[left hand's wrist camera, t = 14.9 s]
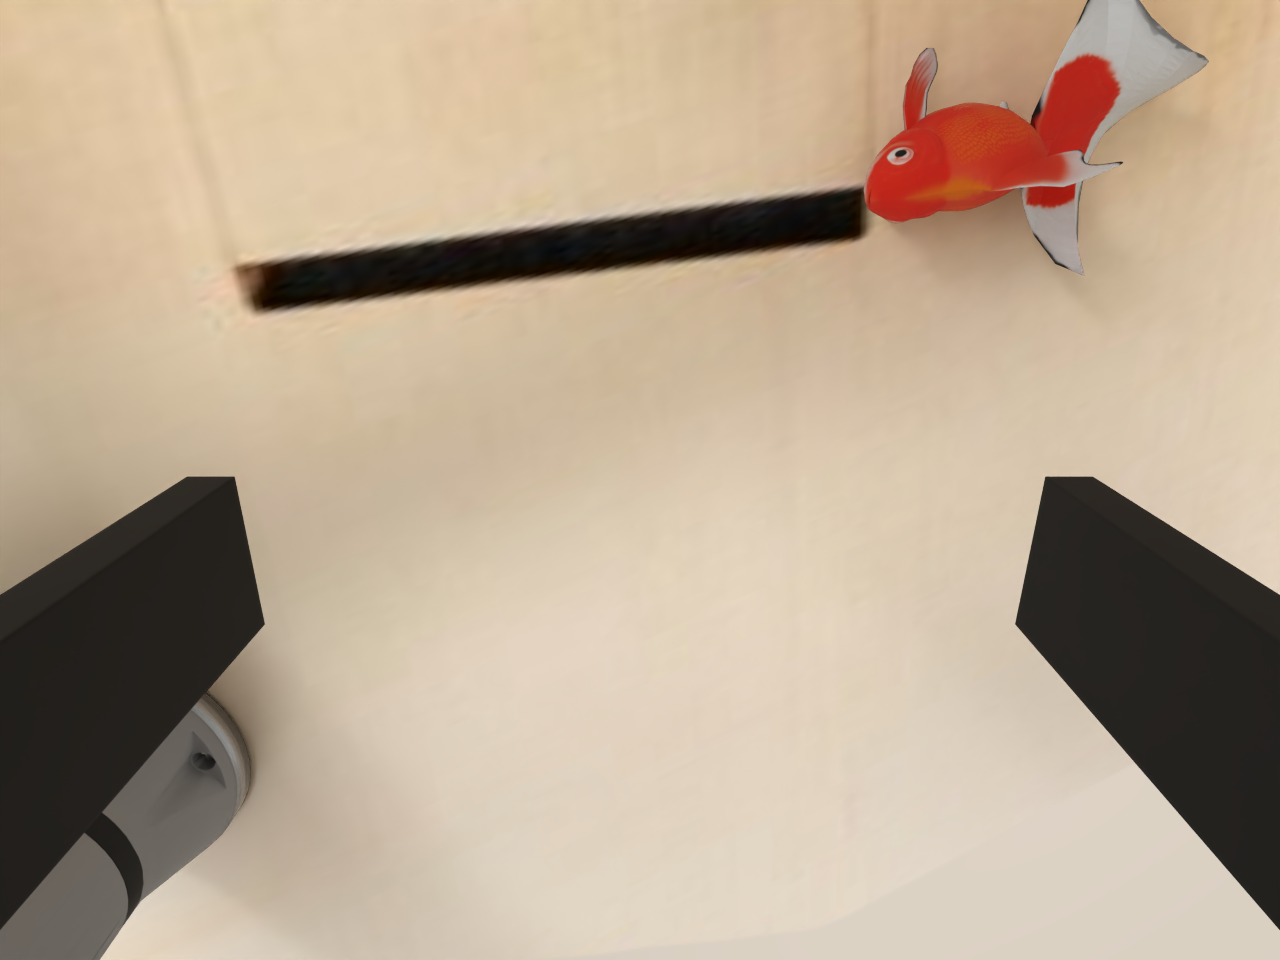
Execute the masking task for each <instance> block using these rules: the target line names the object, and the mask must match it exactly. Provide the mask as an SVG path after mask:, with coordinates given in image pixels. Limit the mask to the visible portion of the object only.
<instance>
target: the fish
mask: <svg viewBox="0 0 1280 960" xmlns="http://www.w3.org/2000/svg"><path fill="white" fill-rule="evenodd" d="M1208 62H1209V61H1208V60H1207V59H1206V58H1205V56H1203V55H1201V54H1199V53H1197V52H1194V51H1192V50H1191V49H1189V48H1188V47H1186V46H1185V45H1183V44H1182V43H1180V42H1179V41H1177V40H1176V39H1174V38H1173V37H1172V36H1171V35H1170V34H1169V33H1168V32H1167V31H1166V30H1165V29H1163V28H1162V27H1161V26H1160V25H1159V24H1158V23H1157V22H1156V21H1155V20H1154V19H1153V18H1152V17H1151V16H1150V15H1149V13H1148V12H1147V10H1146V9H1145V8H1144V6H1143V5H1142V3H1141V2H1140V1H1139V0H1088V1H1087V3H1086V5H1085V7H1084V10H1083V12H1082V14H1081V16H1080V19H1079V21H1078V23H1077V25H1076V27H1075V28H1074V30H1073V32H1072V34H1071V36H1070V38H1069V40H1068V42H1067V44H1066V46H1065V47H1064V49H1063V51H1062V53H1061V56H1060V58H1059V60H1058V62H1057V64H1056V66H1055V68H1054V70H1053V72H1052V74H1051V76H1050V79H1049V81H1048V83H1047V85H1046V87H1045V89H1044V91H1043V93H1042V96H1041V98H1040V100H1039V102H1038V104H1037V106H1036V108H1035V111H1034V113H1033V115H1032V119H1031V125H1030V124H1029V123H1028V122H1027V121H1025V120H1024V119H1022V118H1021V117H1019V116H1018V115H1016V114H1015V113H1014V112H1012V111H1010V110H1009V109H1008V106H1007V103H1006V102H1001V104H1000V106H999V107H998V106H993V105H987V104H980V103H964V104H959V105H956V106H952V107H948V108H944V109H941V110H938V111H935V112H933V113H931V114H929V115H927V116H926V110H927V94H928V91H929V88H930V86H931V83H932V81H933V79H934V77H935V75H936V72H937V67H938V63H937V57H936V53H935V50H934V48H926V49H925V50H924V51H923V52H922V53H921V54H920V55H919V57H918V58H917V60H916V62H915V64H914V66H913V70H912V73H911V77H910V78H909V80H908V82H907V84H906V87H905V95H904V102H903V115H904V127H905V130H904V131H902V132H901V133H900V134H898V135H897V136H896V137H894V138H893V139H892V140H891V141H890V142H889V143H888V144H887V145H886V146H885V147H884V149H883V150H882V151H881V152H880V153H879V154H878V156H877V157H876V159H875V160H874V162H873V163H872V165H871V167H870V169H869V171H868V173H867V177H866V181H865V186H864V195H865V202H866V204H867V206H868V208H869V210H871V211H872V212H873V213H875V214H877V215H879V216H881V217H883V218H884V219H886V220H888V221H889V222H892V223H901V222H904V221H907V220H910V219H914V218H924V217H928V216H930V215H932V214H934V213H935V212H937V211H963V210H968V209H972V208H975V207H978V206H981V205H984V204H986V203H988V202H991V201H993V200H995V199H997V198H999V197H1001V196H1003V195H1005V194H1007V193H1008V192H1010V191H1012V190H1013V189H1015V188H1021V193H1022V199H1023V206H1024V209H1025V212H1026V216H1027V219H1028V222H1029V224H1030V227H1031V229H1032V231H1033V234H1034V236H1035V237H1036V239H1037V240H1038V241H1039V243H1040V244H1041V245H1042V247H1043V248H1044V249H1045V251H1046V252H1047V253H1048V255H1049V256H1050V257H1051V259H1052V260H1053V261H1054V263H1055V264H1057V265H1060V266H1062V267H1065V268H1067V269H1069V270H1072V271H1074V272H1077V273H1079V274H1082V275H1084V272H1083V268H1082V264H1081V261H1080V256H1079V250H1078V206H1079V199H1080V194H1081V188H1082V183H1083V181H1084V180H1087V179H1090V178H1092V177H1094V176H1096V175H1098V174H1101V173H1103V172H1105V171H1107V170H1110V169H1112V168H1114V167H1116V166H1118V165H1121V164H1122V163H1123V162H1115V163H1108V164H1101V165H1090V164H1088V162H1089V159H1090V157H1091V155H1092V152H1093V151H1094V149H1095V147H1096V145H1097V144H1098V142H1099V140H1100V139H1101V137H1102V136H1103V135H1104V133H1105V132H1106V131H1107V130H1109V129H1110V128H1111V127H1112V126H1113V125H1114V124H1115V123H1117V122H1118V121H1119V120H1120V119H1122V118H1123V117H1124V116H1125V115H1127V114H1128V113H1130V112H1131V111H1132V110H1134V109H1135V108H1137V107H1138V106H1140V105H1142V104H1144V103H1146V102H1147V101H1149V100H1151V99H1153V98H1155V97H1157V96H1158V95H1160V94H1162V93H1164V92H1166V91H1167V90H1169V89H1171V88H1173V87H1174V86H1176V85H1178V84H1179V83H1181V82H1183V81H1184V80H1186V79H1188V78H1189V77H1191V76H1192V75H1194V74H1196V73H1197V72H1199V71H1200V70H1201V69H1202V68H1203V67H1205V65H1206V64H1207V63H1208Z"/></svg>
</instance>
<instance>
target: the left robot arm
mask: <svg viewBox="0 0 1280 960" xmlns="http://www.w3.org/2000/svg"><path fill="white" fill-rule="evenodd" d="M264 624H265V623H264V618H263V613H262V608H261V604H260V599H259V594H258V589H257V584H256V579H255V574H254V569H253V564H252V560H251V555H250V550H249V545H248V540H247V535H246V530H245V525H244V520H243V516H242V511H241V506H240V501H239V496H238V491H237V486H236V481H235V477H186V478H184V479H183V480H181V481H180V482H178V483H177V484H175V485H173V486H172V487H170V488H169V489H167V490H165V491H164V492H162V493H161V494H159V495H158V496H156V497H154V498H153V499H151V500H150V501H148V502H147V503H145V504H143V505H142V506H140V507H139V508H137V509H135V510H134V511H132V512H131V513H129V514H128V515H126V516H124V517H123V518H121V519H120V520H118V521H116V522H115V523H113V524H112V525H110V526H109V527H107V528H105V529H104V530H102V531H101V532H99V533H98V534H96V535H94V536H93V537H91V538H90V539H88V540H86V541H85V542H83V543H82V544H80V545H79V546H77V547H75V548H74V549H72V550H71V551H69V552H67V553H66V554H64V555H63V556H61V557H60V558H58V559H56V560H55V561H53V562H52V563H50V564H48V565H47V566H45V567H44V568H42V569H41V570H39V571H37V572H36V573H34V574H33V575H31V576H30V577H28V578H26V579H25V580H23V581H22V582H20V583H18V584H17V585H15V586H14V587H12V588H11V589H9V590H7V591H6V592H4V593H3V594H1V595H0V960H100V959H101V957H102V956H103V954H104V953H105V951H106V950H107V948H108V947H109V946H110V944H111V943H112V941H113V940H114V938H115V937H116V935H117V934H118V932H119V931H120V929H121V928H122V927H123V925H124V924H125V922H126V921H127V919H128V918H129V917H130V915H131V914H132V912H133V911H134V909H135V908H136V907H137V905H138V904H139V903H140V901H141V900H142V899H144V898H145V897H146V896H147V895H149V894H150V893H151V892H153V891H154V890H155V889H156V888H158V887H159V886H160V885H161V884H163V883H164V882H165V881H166V880H168V879H169V878H170V877H171V876H173V875H174V874H175V873H176V872H178V871H179V870H180V869H181V868H183V867H184V866H185V865H186V864H188V863H189V862H190V861H191V860H193V859H194V858H195V857H196V856H198V855H199V854H200V853H201V852H203V851H204V850H205V849H206V848H208V847H209V846H210V845H211V844H212V843H213V842H214V841H215V840H217V839H218V838H219V837H220V836H221V835H222V833H223V832H224V831H225V830H226V828H227V827H228V825H229V824H230V822H231V821H232V819H233V818H234V816H235V815H236V813H237V812H238V810H239V808H240V807H241V805H242V803H243V802H244V799H245V797H246V795H247V791H248V788H249V783H250V762H249V756H248V752H247V749H246V746H245V743H244V741H243V739H242V737H241V735H240V733H239V731H238V729H237V727H236V726H235V724H234V723H233V721H232V720H231V719H230V717H229V716H228V715H227V713H226V712H225V711H224V710H223V709H222V708H221V707H220V706H219V705H218V704H217V703H216V702H215V701H214V700H213V699H212V698H211V697H210V696H209V695H207V694H206V692H207V690H208V689H209V688H210V687H211V686H212V685H213V683H214V682H215V681H216V680H217V679H218V678H219V677H220V675H221V674H222V673H223V672H224V671H225V670H226V668H227V667H228V666H229V665H230V664H231V663H232V661H233V660H234V659H235V658H236V657H237V656H238V655H239V653H240V652H241V651H242V650H243V649H244V648H245V646H246V645H247V644H248V643H249V642H250V641H251V640H252V638H253V637H254V636H255V635H256V634H257V633H258V631H259V630H260V629H261V628H262V627H263V626H264ZM1015 624H1016V626H1017V627H1018V628H1019V629H1020V630H1021V631H1022V633H1023V634H1024V635H1025V636H1026V637H1027V638H1028V640H1029V641H1030V642H1031V643H1032V644H1033V645H1034V646H1035V648H1036V649H1037V650H1038V651H1039V652H1040V653H1041V655H1042V656H1043V657H1044V658H1045V659H1046V660H1047V661H1048V663H1049V664H1050V665H1051V666H1052V667H1053V668H1054V670H1055V671H1056V672H1057V673H1058V674H1059V675H1060V677H1061V678H1062V679H1063V680H1064V681H1065V682H1066V683H1067V685H1068V686H1069V687H1070V688H1071V689H1072V690H1073V692H1074V693H1075V694H1076V695H1077V696H1078V697H1079V698H1080V700H1081V701H1082V702H1083V703H1084V704H1085V705H1086V707H1087V708H1088V709H1089V710H1090V711H1091V712H1092V714H1093V715H1094V716H1095V717H1096V718H1097V719H1098V720H1099V722H1100V723H1101V724H1102V725H1103V726H1104V727H1105V729H1106V730H1107V731H1108V732H1109V733H1110V734H1111V735H1112V737H1113V738H1114V739H1115V740H1116V741H1117V742H1118V744H1119V745H1120V746H1121V747H1122V748H1123V749H1124V751H1125V752H1126V753H1127V754H1128V755H1129V756H1130V757H1131V759H1132V760H1133V761H1134V762H1135V763H1136V764H1137V766H1138V767H1139V768H1140V769H1141V770H1142V771H1143V772H1144V774H1145V775H1146V776H1147V777H1148V778H1149V779H1150V781H1151V782H1152V783H1153V784H1154V785H1155V786H1156V787H1157V789H1158V790H1159V791H1160V792H1161V793H1162V794H1163V796H1164V797H1165V798H1166V799H1167V800H1168V801H1169V803H1170V804H1171V805H1172V806H1173V807H1174V808H1175V809H1176V811H1177V812H1178V813H1179V814H1180V815H1181V816H1182V818H1183V819H1184V820H1185V821H1186V822H1187V823H1188V824H1189V826H1190V827H1191V828H1192V829H1193V830H1194V831H1195V833H1196V834H1197V835H1198V836H1199V837H1200V838H1201V839H1202V841H1203V842H1204V843H1205V844H1206V845H1207V846H1208V848H1209V849H1210V850H1211V851H1212V852H1213V853H1214V854H1215V856H1216V857H1217V858H1218V859H1219V860H1220V861H1221V863H1222V864H1223V865H1224V866H1225V867H1226V868H1227V870H1228V871H1229V872H1230V873H1231V874H1232V875H1233V877H1234V878H1235V879H1236V880H1237V881H1238V882H1239V883H1240V885H1241V886H1242V887H1243V888H1244V889H1245V890H1246V892H1247V893H1248V894H1249V895H1250V896H1251V897H1252V898H1253V900H1254V901H1255V902H1256V903H1257V904H1258V905H1259V907H1260V908H1261V909H1262V910H1263V911H1264V912H1265V914H1266V915H1267V916H1268V917H1269V918H1270V919H1271V920H1272V922H1273V923H1274V924H1275V925H1276V926H1277V927H1278V929H1279V930H1280V595H1279V594H1277V593H1276V592H1274V591H1273V590H1271V589H1269V588H1268V587H1266V586H1265V585H1263V584H1262V583H1260V582H1258V581H1257V580H1255V579H1254V578H1252V577H1250V576H1249V575H1247V574H1246V573H1244V572H1243V571H1241V570H1239V569H1238V568H1236V567H1235V566H1233V565H1232V564H1230V563H1228V562H1227V561H1225V560H1224V559H1222V558H1220V557H1219V556H1217V555H1216V554H1214V553H1213V552H1211V551H1209V550H1208V549H1206V548H1205V547H1203V546H1201V545H1200V544H1198V543H1197V542H1195V541H1194V540H1192V539H1190V538H1189V537H1187V536H1186V535H1184V534H1182V533H1181V532H1179V531H1178V530H1176V529H1175V528H1173V527H1171V526H1170V525H1168V524H1167V523H1165V522H1164V521H1162V520H1160V519H1159V518H1157V517H1156V516H1154V515H1152V514H1151V513H1149V512H1148V511H1146V510H1145V509H1143V508H1141V507H1140V506H1138V505H1137V504H1135V503H1133V502H1132V501H1130V500H1129V499H1127V498H1126V497H1124V496H1122V495H1121V494H1119V493H1118V492H1116V491H1115V490H1113V489H1111V488H1110V487H1108V486H1107V485H1105V484H1103V483H1102V482H1100V481H1099V480H1097V479H1096V478H1094V477H1045V481H1044V486H1043V491H1042V496H1041V501H1040V506H1039V511H1038V516H1037V520H1036V525H1035V530H1034V535H1033V540H1032V545H1031V550H1030V555H1029V560H1028V564H1027V569H1026V574H1025V579H1024V584H1023V589H1022V594H1021V599H1020V604H1019V608H1018V613H1017V618H1016V623H1015Z"/></svg>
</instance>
